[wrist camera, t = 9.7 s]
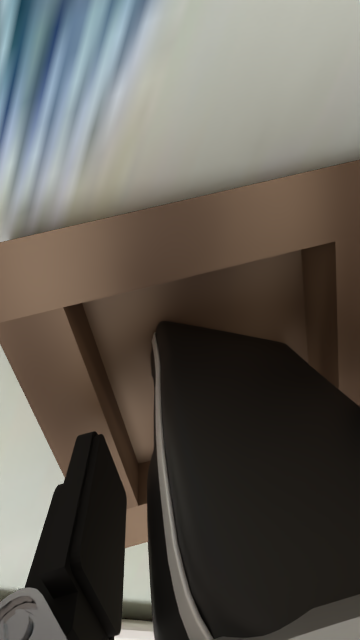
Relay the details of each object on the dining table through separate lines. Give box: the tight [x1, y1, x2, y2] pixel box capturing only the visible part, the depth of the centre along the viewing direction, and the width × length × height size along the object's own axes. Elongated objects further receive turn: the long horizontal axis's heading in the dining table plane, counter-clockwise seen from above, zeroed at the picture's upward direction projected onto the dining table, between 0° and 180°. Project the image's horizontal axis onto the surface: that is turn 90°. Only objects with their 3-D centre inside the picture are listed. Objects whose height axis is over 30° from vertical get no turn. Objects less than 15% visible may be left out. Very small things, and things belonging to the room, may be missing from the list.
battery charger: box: [147, 321, 360, 640], centre depth 9 cm, size 7×4×11 cm, turn 76°
